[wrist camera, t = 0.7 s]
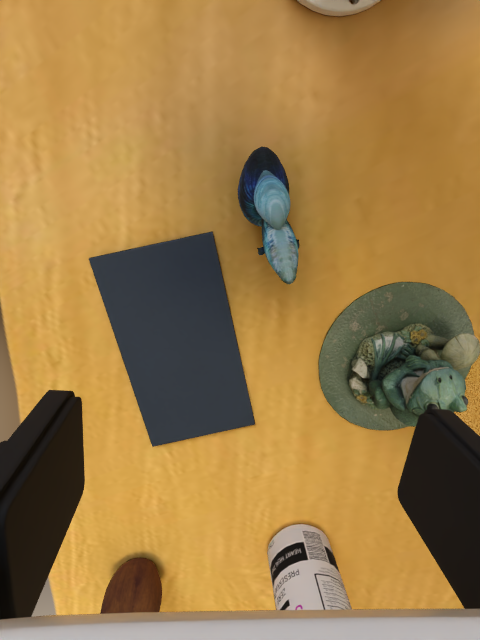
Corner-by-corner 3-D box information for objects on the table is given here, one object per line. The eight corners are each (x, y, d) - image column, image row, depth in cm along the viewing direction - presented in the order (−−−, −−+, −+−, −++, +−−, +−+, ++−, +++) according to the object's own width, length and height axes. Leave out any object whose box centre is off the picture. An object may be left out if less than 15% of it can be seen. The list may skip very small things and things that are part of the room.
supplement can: (327, 562, 52) (371, 703, 37) (267, 570, 51) (289, 714, 37) (328, 517, 49) (376, 650, 35) (265, 524, 48) (288, 661, 34)
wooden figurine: (148, 543, 48) (123, 690, 34) (172, 570, 50) (157, 721, 36) (103, 564, 49) (59, 717, 34) (128, 591, 50) (96, 747, 36)
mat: (89, 258, 36) (88, 258, 36) (212, 231, 36) (212, 232, 36) (152, 444, 43) (152, 446, 43) (254, 422, 43) (255, 424, 43)
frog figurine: (475, 266, 39) (578, 295, 28) (472, 411, 45) (556, 482, 34) (308, 301, 39) (346, 344, 28) (328, 442, 45) (365, 523, 34)
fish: (249, 266, 37) (262, 291, 28) (228, 157, 34) (235, 145, 25) (291, 257, 37) (319, 279, 28) (275, 148, 34) (300, 131, 25)
